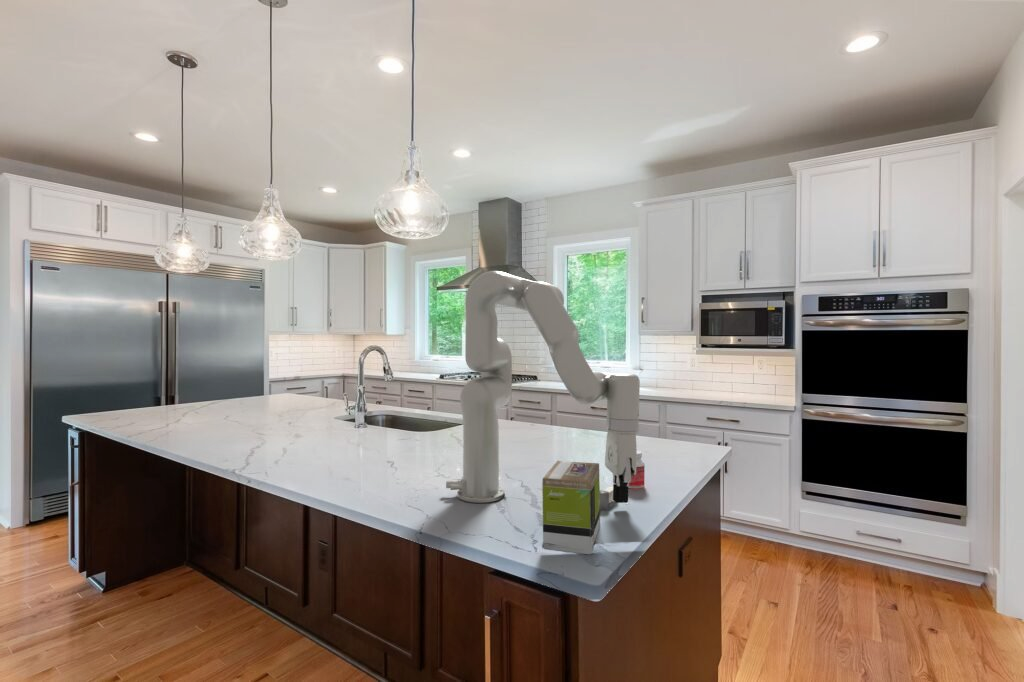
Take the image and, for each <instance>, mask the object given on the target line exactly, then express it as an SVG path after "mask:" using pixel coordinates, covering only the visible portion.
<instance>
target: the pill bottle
mask: <svg viewBox="0 0 1024 682" xmlns="http://www.w3.org/2000/svg"><path fill="white" fill-rule="evenodd" d="M642 453H643V452H642V451H640V450H637V467H636V474H635V475H634V476H632V475H631V483H629V486H628V491H641V490H644V489H645V471H646V470H645V462H644V460H643V459H642V457H643V454H642Z"/></svg>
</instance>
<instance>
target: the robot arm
mask: <svg viewBox="0 0 1024 682" xmlns="http://www.w3.org/2000/svg"><path fill="white" fill-rule="evenodd" d="M564 298H565V297H564V294H563V292H562V291H561V289H560V288H559V287H557V286H556V285H553V284H552V283H551V284H550V283H548V282H546V281H545V282H544V281H534V280H530V279H526V278H523V277H520V276H516V275H513V274H510V273H507V272H504V271H499V270H489V271H486V272H483V273H481V274H479V275H477V277H475V279H473V280H472V282H471V283H470V284H469V286H468V289H467V291H466V295H465V303H464V304H465V343H464V344H465V350H464V351H465V362H466V366H467V367H468V368H469V369H470V370H471V371H473V372H477V373H480V377H475V378H473V379H471V380H470V379H469V381H467V382H466V383H465V384H464V385H463V387H462V389H461V392H460V397H459V399H460V408H461V414H462V423H463V424H462V425H463V426H462V431H463V432H462V436H463V437H462V439H463V440H462V441H463V442H462V443H463V444H462V445H463V446H462V447H463V448H462V450H463V452H462V455H463V456H462V461H463V462H462V466H463V467H462V476H461V479H458V480H446V481H445V489H450V491H456V490H457V494H456V496H457V498H458V500H460V501H464V502H467V503H473V504H474V503H476V504H478V503H479V504H482V503H492V502H496V501H499V500H501V499H503V498H504V497H505V490H504V489H503V488H501V487H499V484H500V483H499V481H500V480H499V477H500V476H499V474H500V469H499V468H500V465H499V463H500V460H499V459H500V452H499V451H500V429H499V428H500V425H499V420H498V415H497V410H499V409H502V408H503V407H505V406H506V405H507V404H508V403H509V401H510V399H511V396H512V390H513V389H512V385H513V380H512V379H513V378H512V377H513V376H512V375H513V373H512V372H513V370H512V369H513V367H512V366H513V362H512V361H513V358H512V357H513V356H512V352H511V347H509V345H508V342H506V341H505V340H503V339H502V338H501V337H498V327H499V326H498V325H499V324H498V316H497V312H496V306H497V305H500V306H507V307H511V308H515V309H520V310H522V311H526V312H527V313H528V314H529V316H530V317H531V319H532V321H533V322H534V324H535V326H536V328H537V329H538V331H539V332H540V334H541V337H542V338H543V340H544V341H545V343H546V345H547V347H548V351H549V353H550V357H551V360H552V363H553V366H554V368H555V371H556V372H557V375H558V376H559V378H560V380H561V382H562V383H563V385H564V386H565V389H566V390H567V392H568V393H569V394H570V396H571V397H572V398H573V400H575V402H577V403H579V404H583V405H592V404H594V403H597V402H600V401H606V404H607V405H606V430H605V431H606V432H607V434H606V441H605V451H604V452H605V455H604V466H605V468H606V469H607V470H608V471H609V472H610V473H612V483H613V502H614V503H616V504H623V503H624V504H625V503H629V489H628V486H629V483H631V475H632V476H634V475H635V474H636V467H637V451H638V450H637V434H638V433H639V426H640V425H639V423H640V422H639V420H640V419H639V418H640V391H641V390H640V387H641V384H640V383H641V382H640V378H639V376H638V375H637V374H634V373H628V372H627V373H626V372H623V373H622V372H616V373H610V372H605V371H600V370H592V369H591V367H590V365H589V363H588V361H587V360H586V357H584V354H583V352H582V350H581V347H580V342H579V329H578V327H577V325H576V324H575V322H574V320H573V319H572V318H571V316H570V314H569V312H568V311H567V309H566V308H565V306H564V305H565V299H564Z"/></svg>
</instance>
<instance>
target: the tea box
mask: <svg viewBox="0 0 1024 682" xmlns="http://www.w3.org/2000/svg"><path fill="white" fill-rule="evenodd" d="M600 483H601V482H600V463H597V462H584V461H583V462H582V461H579V462H578V461H563V460H557V461H556V462H555V463H554V464H553V465H552V467H551V468H550V469H549V470H548V471H547V472H546V473H545V474H544V476H543V478H542V483H541V485H542V486H541V487H542V543H544V544H543V545H542V548H543V549H544V550H547V551H553V552H554V551H555V552H563V553H571V554H572V553H573V554H579V555H592V553H593V549H594V546H595V540H596V537H597V534H598V532H599V529H600V527H601V510H600V490H601V489H600Z"/></svg>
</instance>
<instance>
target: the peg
mask: <svg viewBox="0 0 1024 682" xmlns="http://www.w3.org/2000/svg"><path fill="white" fill-rule="evenodd" d="M612 502H614V500H613V486H612V485H611V486H608V487H606V488H605V489H604V490H601V489H600V511H607V510H608V511H609V509H610V503H612Z"/></svg>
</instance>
